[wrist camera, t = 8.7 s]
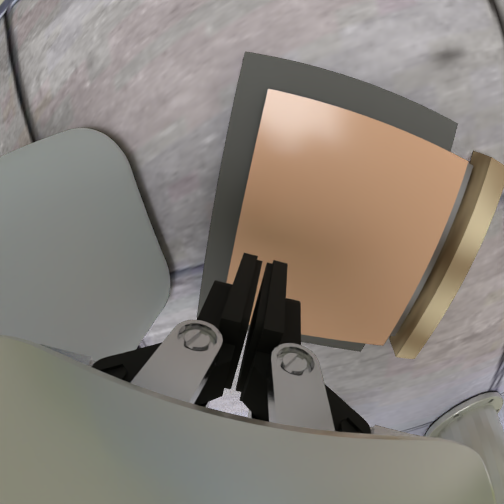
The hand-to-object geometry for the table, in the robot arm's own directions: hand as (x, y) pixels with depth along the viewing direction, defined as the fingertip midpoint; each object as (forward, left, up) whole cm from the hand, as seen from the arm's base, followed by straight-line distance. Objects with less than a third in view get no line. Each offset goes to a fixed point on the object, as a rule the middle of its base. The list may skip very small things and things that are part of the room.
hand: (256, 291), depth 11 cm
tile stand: (0, -13, -8) cm, 15 cm away
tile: (0, -11, -7) cm, 13 cm away
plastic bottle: (-5, +14, -8) cm, 17 cm away
